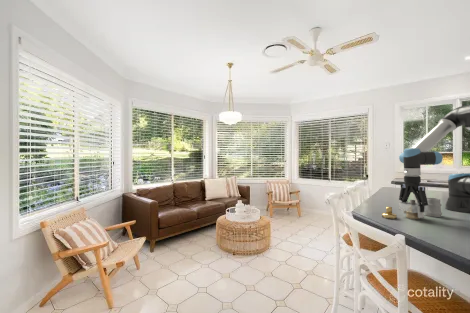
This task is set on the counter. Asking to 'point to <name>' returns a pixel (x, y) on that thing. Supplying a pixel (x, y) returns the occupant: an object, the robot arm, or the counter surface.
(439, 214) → the mug
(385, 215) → the hub
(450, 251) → the counter surface
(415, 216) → the stand
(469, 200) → the robot arm
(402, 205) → the grey square block
